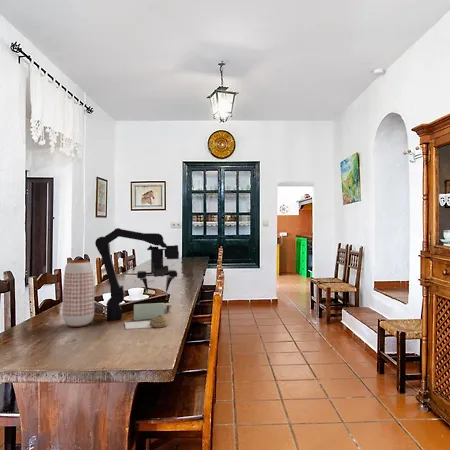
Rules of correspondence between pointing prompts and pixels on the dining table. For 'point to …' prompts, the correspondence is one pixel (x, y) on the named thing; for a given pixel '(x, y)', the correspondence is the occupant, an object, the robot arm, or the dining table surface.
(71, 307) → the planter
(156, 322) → the seashell
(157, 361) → the dining table surface
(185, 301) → the dining table surface
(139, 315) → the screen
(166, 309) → the small beige block
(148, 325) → the tile
